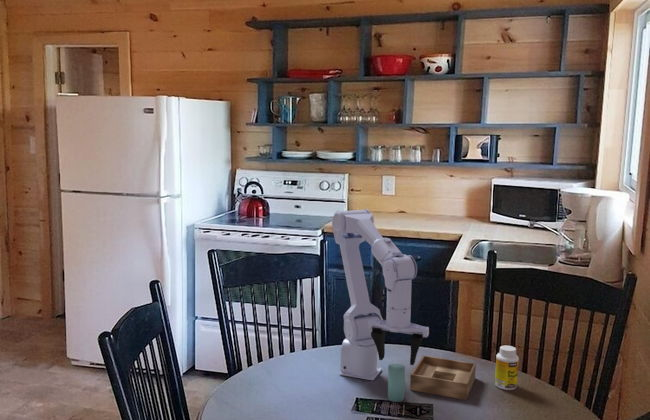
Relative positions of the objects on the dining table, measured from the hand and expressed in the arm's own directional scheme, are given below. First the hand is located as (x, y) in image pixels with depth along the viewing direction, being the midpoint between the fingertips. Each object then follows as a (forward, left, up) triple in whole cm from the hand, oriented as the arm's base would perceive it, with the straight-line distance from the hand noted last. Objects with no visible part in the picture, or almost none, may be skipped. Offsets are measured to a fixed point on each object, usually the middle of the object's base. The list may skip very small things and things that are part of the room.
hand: (397, 361), depth 143 cm
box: (+9, +13, -9) cm, 18 cm away
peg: (0, 0, -9) cm, 9 cm away
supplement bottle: (+24, +18, -10) cm, 31 cm away
